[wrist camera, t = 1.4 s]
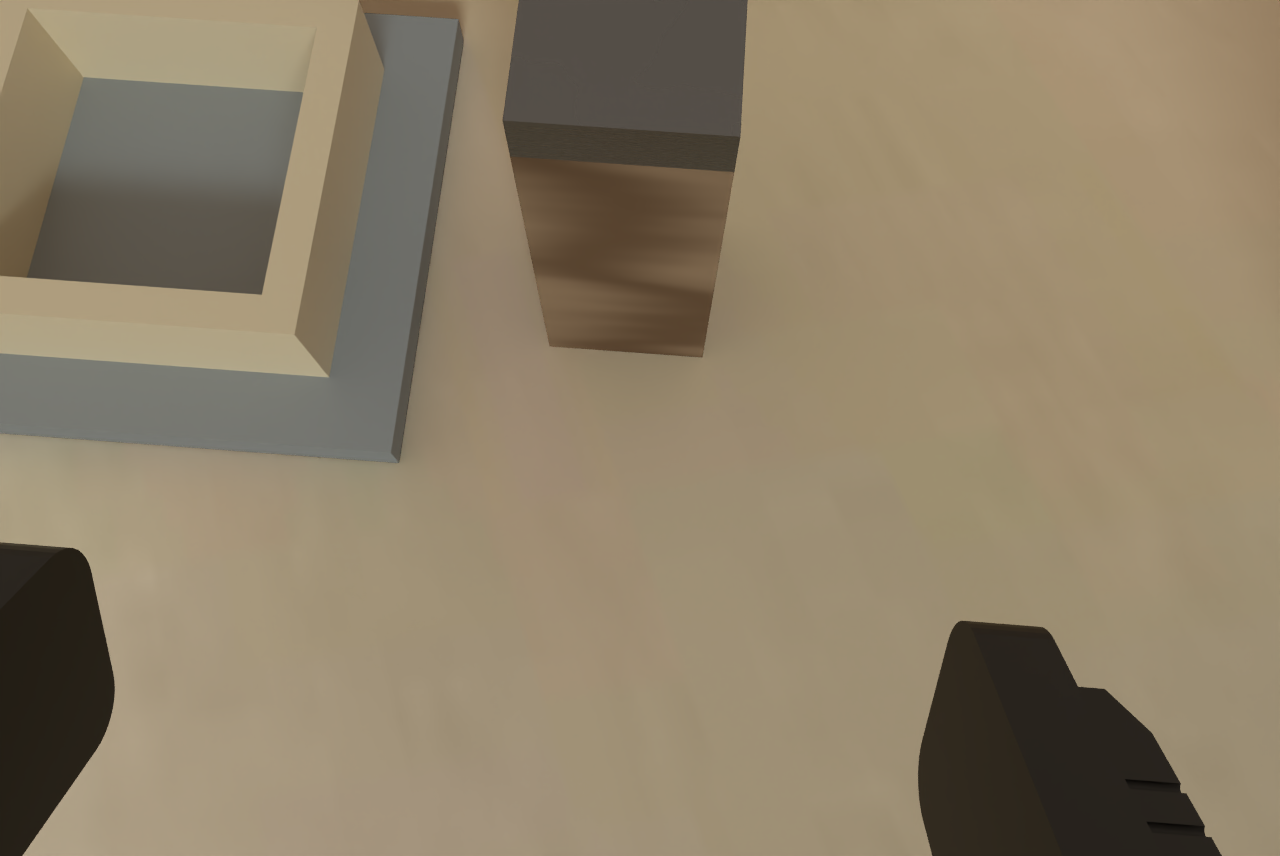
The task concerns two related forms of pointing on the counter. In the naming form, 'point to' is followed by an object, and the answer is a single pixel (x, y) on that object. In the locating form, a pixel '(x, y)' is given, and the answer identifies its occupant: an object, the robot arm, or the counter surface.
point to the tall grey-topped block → (626, 163)
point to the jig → (218, 220)
